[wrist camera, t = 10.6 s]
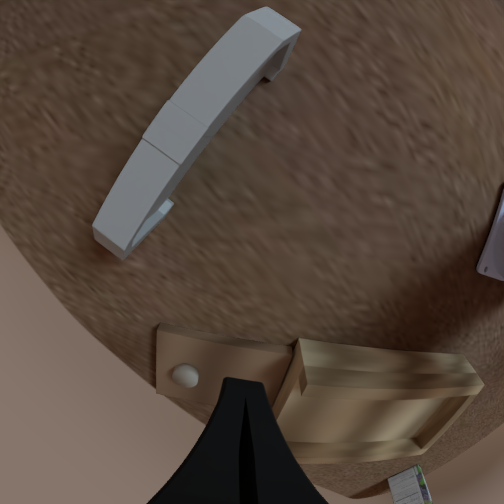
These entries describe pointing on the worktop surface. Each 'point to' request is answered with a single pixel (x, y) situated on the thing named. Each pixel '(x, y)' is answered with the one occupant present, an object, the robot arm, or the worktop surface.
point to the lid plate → (214, 363)
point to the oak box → (369, 401)
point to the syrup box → (409, 487)
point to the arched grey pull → (191, 126)
